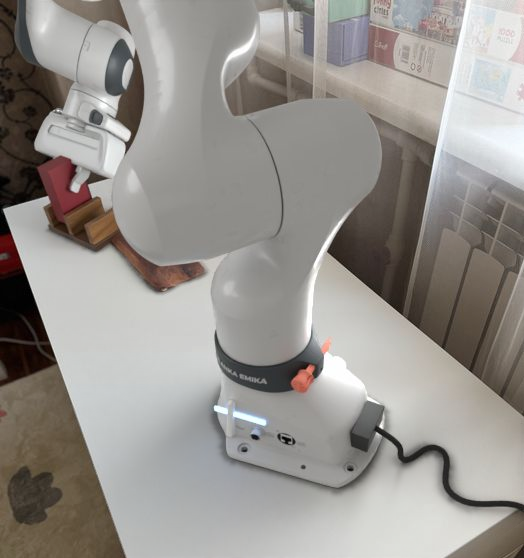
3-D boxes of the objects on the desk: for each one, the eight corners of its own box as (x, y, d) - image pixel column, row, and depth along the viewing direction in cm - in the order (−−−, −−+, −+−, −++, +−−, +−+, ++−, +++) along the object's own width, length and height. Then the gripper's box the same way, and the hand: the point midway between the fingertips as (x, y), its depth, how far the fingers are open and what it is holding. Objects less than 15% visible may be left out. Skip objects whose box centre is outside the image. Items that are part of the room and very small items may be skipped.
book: (95, 207, 107) (78, 155, 99) (67, 224, 103) (48, 171, 95) (84, 203, 108) (67, 151, 101) (56, 219, 105) (36, 167, 97)
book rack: (130, 229, 106) (124, 205, 102) (96, 252, 101) (88, 228, 97) (84, 209, 112) (76, 186, 108) (49, 230, 107) (40, 207, 103)
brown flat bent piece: (96, 222, 106) (140, 200, 108) (100, 231, 107) (144, 209, 110) (156, 291, 90) (206, 263, 93) (160, 300, 92) (209, 272, 95)
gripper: (39, 98, 101) (16, 168, 103) (113, 120, 92) (86, 196, 94) (65, 113, 107) (43, 179, 109) (137, 135, 98) (112, 207, 100)
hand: (64, 188), depth 101 cm, fingers closed on book, 3 cm apart
